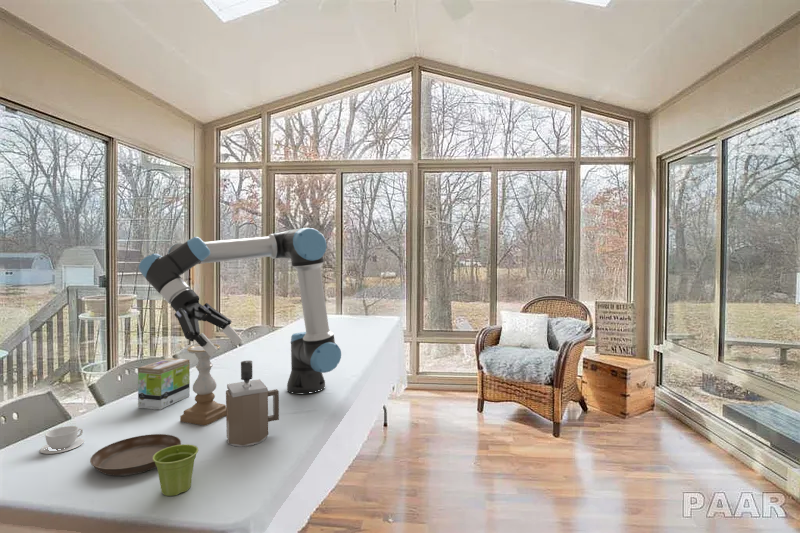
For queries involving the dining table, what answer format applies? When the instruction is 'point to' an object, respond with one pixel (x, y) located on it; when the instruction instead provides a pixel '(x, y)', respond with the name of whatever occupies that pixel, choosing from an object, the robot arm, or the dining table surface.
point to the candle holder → (203, 392)
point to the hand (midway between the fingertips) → (227, 347)
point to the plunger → (246, 372)
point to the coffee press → (249, 412)
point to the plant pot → (175, 468)
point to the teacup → (62, 439)
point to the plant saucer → (131, 454)
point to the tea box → (163, 383)
